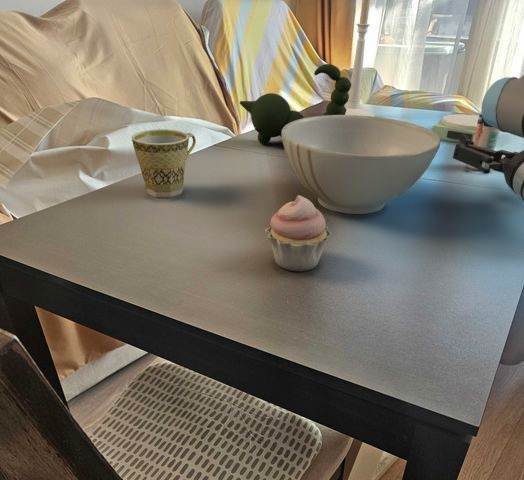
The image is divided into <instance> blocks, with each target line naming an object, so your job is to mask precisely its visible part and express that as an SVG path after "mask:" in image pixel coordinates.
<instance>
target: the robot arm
mask: <svg viewBox="0 0 524 480" xmlns="http://www.w3.org/2000/svg"><path fill="white" fill-rule="evenodd" d="M480 109H481V110H480V112H482V117H483V119H484V121H485V122H486V123H487V124H488V125H490V126H492V127H494V128H496V129H498V130H500V132H502V133H506V134H510V135H513V136H515V137H519V138H522V139H524V74H523V75H521V76H520V77H515V76H511V77H510V76H508V77H507V76H506V77H502V78H499V79H497V80H495V81H494V82H493V83H492V84H491V85H490V86H489V88H488V89H487V90H486V92H485V94H484V96H483V97H482V102H481V107H480ZM452 159H454V160H456V161H458V162H460V163H463V164H465V165H467V164H468V165H470V166H472V167H475V168H477V169H479V170H480V172H481V173H483V174H487V175H488V174H490V172H491V170H492V171H495V172H498V173H502V174H503V177H504V180H505V183H506V186H507V187H508V188H509V189H510V190H511V191H512V192H513V193H514V194H515V195H516V196H518V198H520V199H521V200H522V202H524V149H523V150H521V151H513V152H512V151H508V150H505V149H500V150H495V149H494V150H490V149H486V148H483V147H479V146H475V145H474V142H473V141H472V140H471V139H470V138H469V137H468V136H467V135H466V134H461V137H460V141H459V142H458V143H456V144H455V147H454V150H453V154H452ZM479 170H478V171H479Z"/></svg>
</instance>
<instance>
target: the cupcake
mask: <svg viewBox="0 0 524 480" xmlns="http://www.w3.org/2000/svg"><path fill="white" fill-rule="evenodd" d="M269 224H270V226H269V227H267V228H265V229H264V231H265V232H266V234H267V238H268V240H269V241H270V244H271V248H272V253H273V258H274V262H275V263H276V265H277V266H278V267H280V268H281V269H284V270H286V271H289V272H306V271H307V272H308V271H310V270H313V269H315V268H316V267H317V266H318V265H319V262H320V260H321V256H322V254H323V251H324V248H325V246H326V244H327V243H328V240H329V239H330V237H331V235H332V232H331V231H329V230H328V229H329V226H328V225H327V223H326V219H325V217H324V215H323V213H322V212H321V211H320V210H319V209H318V208H317V207H315V205H314V204H313V202H311V200H309V199H308V198H306V197H304V196H303V195H300V194H298V195H297V196H296V198H295V200H294V201H289V202H287V203H285V204H283V206H281V207H280V209H279V210H278V211H277V212H276V213H274V214H273V215H272V217H271V219H270V223H269Z"/></svg>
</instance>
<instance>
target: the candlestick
mask: <svg viewBox="0 0 524 480" xmlns="http://www.w3.org/2000/svg"><path fill="white" fill-rule="evenodd" d="M370 3H371V0H361V8H360V15H359V23H356V26H357V34H358V38H357V40H356V41H357V43H356V48H355V53H354V61H353V67H352V72H351V73H352V74H351V80H350V82H351V84H352V85H351V88H350V90H349V91H348V94H349V99H348V102H347V103H346V104H345V105H344V106H345V108H346V113H345V115H361V116H373V117H375V114H374V113H373V112H372V111H371V110H369V109H367V108H365V107H362V106H361V93H362V82H363V70H364V69H363V68H364V57H365V46H366V45H365V43H366V39H365V37H366V34H367V33H368V29H369V26H371V24H370V23H368V20H369V12H370Z"/></svg>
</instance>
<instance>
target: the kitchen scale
mask: <svg viewBox="0 0 524 480" xmlns="http://www.w3.org/2000/svg"><path fill="white" fill-rule="evenodd" d="M478 118H479V115H475V114H474V115H473V114H465V113H464V114H463V113H461V114H460V113H456V114H448V115H444V116H443V117H442V119H440V120H439V121H438V122H437V123H434V125H433V126H432V129H431V131H433V132H434V133H436V134H437V135H438V136H439V138H440V140H443V141H447V142H453V143H459V141H460V137H461V134H466V135H467V136H468V137H469V138H470V139H471V140H472V141H473V137H474V134H475V130H476V126H477V122H478Z"/></svg>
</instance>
